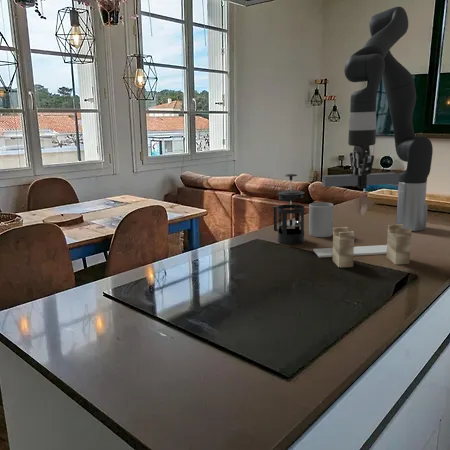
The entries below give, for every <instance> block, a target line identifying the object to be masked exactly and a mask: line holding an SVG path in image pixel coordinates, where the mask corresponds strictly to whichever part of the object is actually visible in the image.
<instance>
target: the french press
mask: <svg viewBox="0 0 450 450" xmlns="http://www.w3.org/2000/svg"><path fill="white" fill-rule="evenodd" d="M297 176H298V174H295V173H288V174H285V175H284V177H288V179H289V182H290V187H289V188H290V189H289V190H281V191H278V192H277V195H278V200H279V201H283V202H290V203H289V204H281V205H280V204H279V205H275V206H274V205H273V231H274V232H277V242H278V243H279V244H282V245H288V246H294V245H301V244H304V243H305V242H306V240H305V205H303V204H302V205H301V204H293V203H292V202H294V201H296V200H297V199H298V198H302V199H303V198H304V195H305V192H304V191H302V190H296V189H295V190H293V189H292V186H293V185H292V182H293V177H297ZM288 214H289V215H290V216H289V217H290V219H288ZM292 214H294V219H293V218H292V217H293V216H292Z"/></svg>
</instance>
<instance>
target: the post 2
mask: <svg viewBox="0 0 450 450" xmlns="http://www.w3.org/2000/svg"><path fill="white" fill-rule="evenodd" d="M411 230H412V229H410V228H407V229H403V225H402V224H396V223H395V224H388V225H387V234H386V235H387V236H386V239H387V240H386V245H387V253H386V254H385V255H386V259H387V260H388V261H390V262H392V263H393V264H394V265H410V258H411V257H410V256H411V243H412V242H411V241H412V231H411Z"/></svg>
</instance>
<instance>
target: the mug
mask: <svg viewBox="0 0 450 450" xmlns="http://www.w3.org/2000/svg"><path fill="white" fill-rule="evenodd" d="M308 206H309V207H308V235H309V236H311V237H315V238H329V237H333V228H334V206H335V205H334V203H332V202H323V201H322V202H321V201H319V202H318V201H317V202H312V203H309V205H308Z"/></svg>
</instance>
